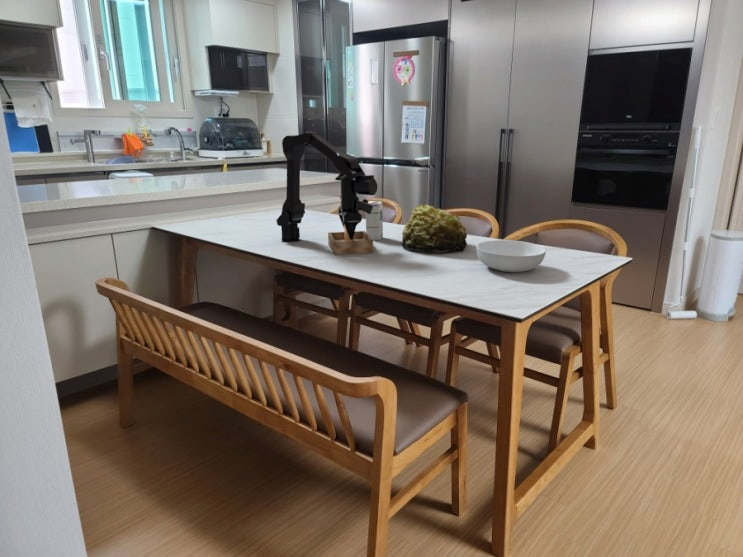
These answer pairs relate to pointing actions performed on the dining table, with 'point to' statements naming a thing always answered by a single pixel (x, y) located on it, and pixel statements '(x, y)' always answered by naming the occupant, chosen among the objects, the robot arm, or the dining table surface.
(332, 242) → the crate
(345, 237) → the peg
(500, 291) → the dining table surface
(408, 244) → the lumpy green mound
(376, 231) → the syrup box
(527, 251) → the serving bowl
